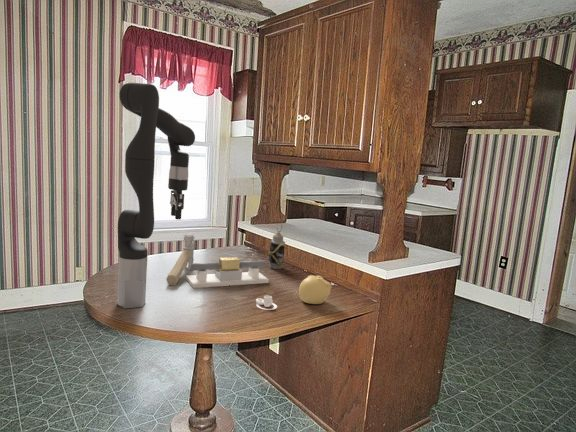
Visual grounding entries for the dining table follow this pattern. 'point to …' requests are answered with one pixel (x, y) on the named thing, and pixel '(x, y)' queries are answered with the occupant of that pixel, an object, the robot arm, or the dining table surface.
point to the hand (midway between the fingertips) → (175, 217)
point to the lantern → (276, 251)
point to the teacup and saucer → (265, 302)
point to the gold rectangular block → (229, 264)
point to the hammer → (182, 260)
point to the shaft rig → (226, 275)
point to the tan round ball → (314, 289)
